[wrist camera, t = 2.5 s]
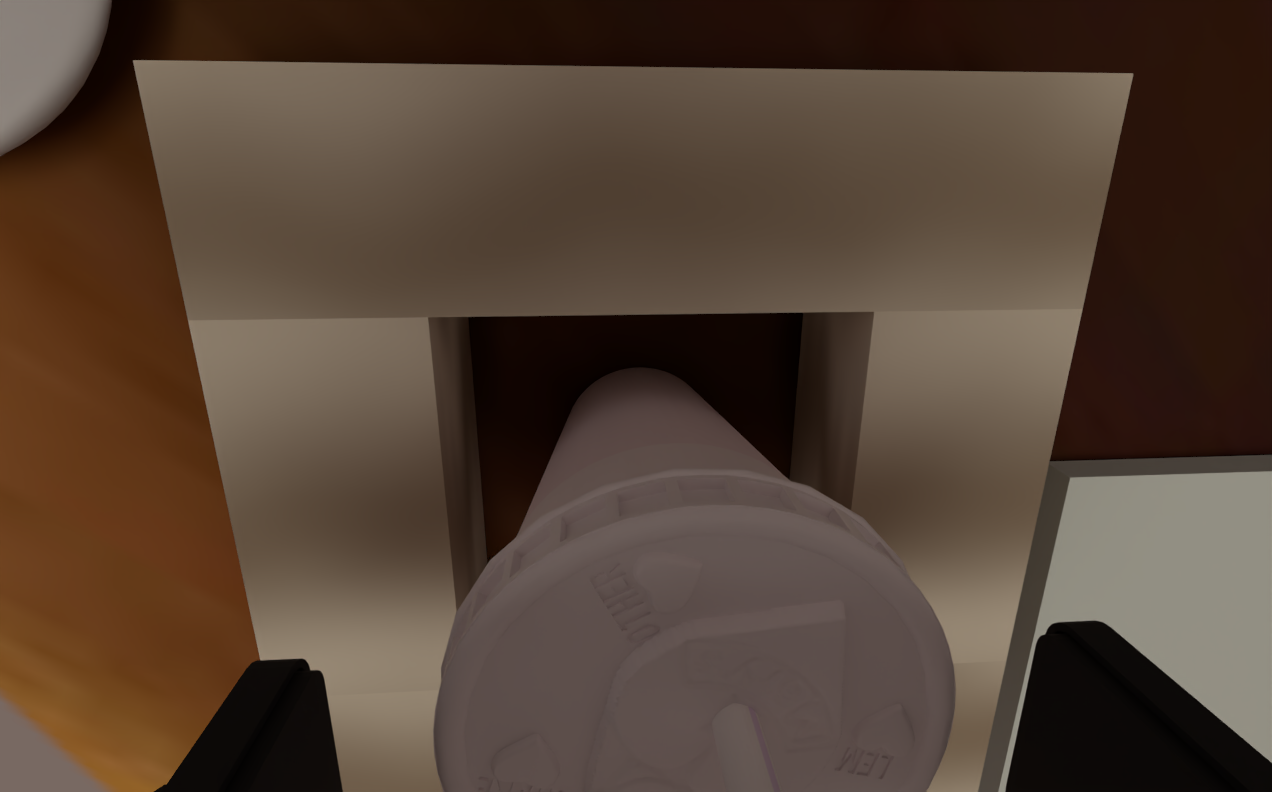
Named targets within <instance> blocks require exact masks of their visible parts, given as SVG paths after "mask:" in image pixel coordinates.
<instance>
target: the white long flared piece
mask: <svg viewBox="0 0 1272 792" xmlns="http://www.w3.org/2000/svg"><path fill="white" fill-rule="evenodd" d="M111 7H112V0H0V156H2V155H3V154H5V153H7V152H9V151H11V150H12V149H14V148H16V147H18V146H20V145H22V144H23V143H25V142H26V141H28V140H29V139H30V138H32V137H33V136H35V135H36V134H37V133H39V132H40V131H42V130H43V129H44V128H46V127H47V126H48V125H49V124H50V123H51V122H52V121H53V120H54V119H55V118H56V117H58V116H59V115H60V114H61V113H62V112H63V111H64V110H65V109H66V107H67V106H68V105H69V104H70V102H71V101H72V100H73V99H74V97H75V96H76V95H77V93H78V92H79V91H80V89H81V88H82V86H83V85H84V83H85V81H86V80H87V78H88V76H89V74H90V72H91V70H92V68H93V66H94V64H95V62H96V60H97V58H98V56H99V54H100V51H101V48H102V45H103V42H104V38H105V35H106V32H107V28H108V23H109V17H110V12H111Z"/></svg>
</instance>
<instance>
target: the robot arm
mask: <svg viewBox="0 0 1272 792" xmlns="http://www.w3.org/2000/svg"><path fill="white" fill-rule="evenodd" d="M154 792H343V789H342V783H341V777H340V771H339V765H338V759H337V753H336V747H335V741H334V735H333V729H332V723H331V716H330V710H329V704H328V698H327V692H326V686H325V680H324V676H323V674H322V672H321V671H319V670H310V667H309V664H308V663H307V661H306V660H305V659H302V658H301V659H280V660H259V661H255V662H253V663H251V664H250V666H249V667H248V668H247V669H246V670H245V672H244V673H243V675H242V676H241V678H240V679H239V680H238V682H237V683H236V685H235V686H234V688H233V689H232V691H231V692H230V694H229V695H228V696H227V698H226V699H225V701H224V702H223V704H222V705H221V707H220V708H219V709H218V711H217V712H216V714H215V715H214V717H213V718H212V720H211V721H210V723H209V724H208V725H207V727H206V728H205V730H204V731H203V733H202V734H201V736H200V737H199V738H198V740H197V741H196V743H195V744H194V746H193V747H192V749H191V750H190V751H189V753H188V754H187V756H186V757H185V759H184V760H183V762H182V763H181V765H180V766H179V767H178V769H177V770H176V772H175V773H174V775H173V776H172V778H171V779H170V780H169V782H168V783H167V785H163V786H162V787H160V788H159V789H157V790H156V791H154ZM1005 792H1272V763H1271V762H1270V761H1269V760H1268V759H1267V758H1265V757H1264V756H1263V755H1262V754H1261V753H1259V752H1258V751H1257V750H1256V749H1255V748H1254V747H1252V746H1251V745H1250V744H1249V743H1248V742H1246V741H1245V740H1244V739H1243V738H1242V737H1240V736H1239V735H1238V734H1237V733H1236V732H1235V731H1233V730H1232V729H1231V728H1230V727H1229V726H1227V725H1226V724H1225V723H1224V722H1223V721H1221V720H1220V719H1219V718H1218V717H1217V716H1216V715H1214V714H1213V713H1212V712H1211V711H1210V710H1208V709H1207V708H1206V707H1205V706H1204V705H1202V704H1201V703H1200V702H1199V701H1198V700H1197V699H1195V698H1194V697H1193V696H1192V695H1191V694H1189V693H1188V692H1187V691H1186V690H1185V689H1183V688H1182V687H1181V686H1180V685H1179V684H1178V683H1176V682H1175V681H1174V680H1173V679H1172V678H1170V677H1169V676H1168V675H1167V674H1166V673H1164V672H1163V671H1162V670H1161V669H1160V668H1159V667H1157V666H1156V665H1155V664H1154V663H1153V662H1151V661H1150V660H1149V659H1148V658H1147V657H1146V656H1144V655H1143V654H1142V653H1141V652H1140V651H1138V650H1137V649H1136V648H1135V647H1134V646H1132V645H1131V644H1130V643H1129V642H1128V641H1127V640H1125V639H1124V638H1123V637H1122V636H1121V635H1119V634H1118V633H1117V632H1116V631H1115V630H1113V629H1112V628H1111V627H1110V626H1108V625H1107V624H1105V623H1103V622H1100V621H1096V620H1094V621H1073V622H1057V623H1053V624H1051V625H1050V626H1049V628H1048V629H1047V631H1046V634H1045V635H1041V636H1040V637H1039V638H1038V640H1037V643H1036V646H1035V651H1034V656H1033V661H1032V665H1031V670H1030V675H1029V679H1028V684H1027V689H1026V694H1025V698H1024V703H1023V708H1022V713H1021V717H1020V722H1019V727H1018V731H1017V736H1016V741H1015V746H1014V750H1013V755H1012V760H1011V764H1010V769H1009V774H1008V779H1007V783H1006V791H1005Z"/></svg>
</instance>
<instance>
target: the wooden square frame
mask: <svg viewBox="0 0 1272 792" xmlns="http://www.w3.org/2000/svg"><path fill="white" fill-rule="evenodd" d="M133 64H134V68H135V73H136V78H137V83H138V87H139V92H140V97H141V101H142V106H143V111H144V115H145V120H146V125H147V130H148V134H149V139H150V144H151V148H152V153H153V158H154V162H155V167H156V172H157V177H158V181H159V186H160V191H161V195H162V200H163V205H164V209H165V214H166V219H167V224H168V228H169V233H170V238H171V242H172V247H173V252H174V256H175V261H176V266H177V270H178V275H179V280H180V285H181V289H182V294H183V299H184V303H185V308H186V313H187V317H188V322H189V327H190V332H191V336H192V341H193V346H194V350H195V355H196V360H197V364H198V369H199V374H200V379H201V383H202V388H203V393H204V397H205V402H206V407H207V411H208V416H209V421H210V426H211V430H212V435H213V440H214V444H215V449H216V454H217V458H218V463H219V468H220V473H221V477H222V482H223V487H224V491H225V496H226V501H227V505H228V510H229V515H230V520H231V524H232V529H233V534H234V538H235V543H236V548H237V552H238V557H239V562H240V567H241V571H242V576H243V581H244V585H245V590H246V595H247V599H248V604H249V609H250V614H251V618H252V623H253V628H254V632H255V637H256V642H257V646H258V651H259V656H260V660H280V659H301V658H302V659H305V660H306V661H307V663H308V664H309V667H310V670H319V671H321V672H322V674H323V676H324V680H325V686H326V692H327V698H328V704H329V710H330V716H331V723H332V729H333V735H334V741H335V747H336V753H337V759H338V765H339V771H340V777H341V783H342V789H343V792H443V789H442V786H441V783H440V780H439V776H438V773H437V767H436V761H435V756H434V741H433V727H434V715H435V708H436V703H437V698H438V693H439V689H440V685H441V682H442V680H441V666H442V662H443V659H444V655H445V651H446V648H447V644H448V640H449V637H450V633H451V629H452V626H453V622H454V619H455V615H456V612H457V611H458V609H459V607H460V606H461V604H462V603H463V601H464V600H465V598H466V597H467V595H468V594H469V592H470V590H471V589H472V587H473V586H474V584H475V583H476V581H477V580H478V578H479V576H480V575H481V573H482V572H483V570H484V569H485V567H486V566H487V551H486V538H485V526H484V513H483V500H482V487H481V474H480V461H479V448H478V436H477V423H476V410H475V397H474V384H473V371H472V359H471V346H470V333H469V320H468V317H493V316H571V315H649V314H727V313H803V321H802V333H801V345H800V358H799V370H798V382H797V394H796V406H795V418H794V430H793V442H792V454H791V466H790V478H789V480H790V481H792V482H796V483H800V484H804V485H807V486H810V487H812V488H813V489H815V490H817V491H819V492H820V493H822V494H824V495H825V496H827V497H829V498H830V499H832V500H834V501H836V502H837V503H839V504H841V505H842V506H844V507H846V508H847V509H849V510H851V511H853V512H854V513H856V514H858V515H859V516H861V517H863V518H864V519H865V520H866V521H867V523H868V524H869V525H870V526H871V527H872V528H873V529H874V530H875V531H876V532H877V533H878V535H879V536H880V537H881V538H882V539H883V540H884V541H885V542H886V543H887V544H888V546H889V547H890V548H891V549H892V550H893V551H894V552H895V553H896V554H897V555H898V556H899V558H900V559H901V560H902V561H903V563H904V566H905V568H906V570H907V572H908V575H909V577H910V579H911V580H912V581H913V582H914V583H915V585H916V586H917V587H918V588H919V589H920V591H921V592H922V594H923V595H924V597H925V598H926V600H927V601H928V602H929V604H930V605H931V607H932V608H933V610H934V612H935V614H936V616H937V618H938V620H939V622H940V624H941V626H942V628H943V631H944V633H945V636H946V639H947V642H948V644H949V647H950V652H951V656H952V661H953V665H954V674H955V684H956V696H955V712H954V718H953V725H952V730H951V733H950V737H949V741H948V745H947V748H946V750H945V753H944V756H943V758H942V761H941V763H940V766H939V768H938V770H937V772H936V774H935V776H934V778H933V780H932V782H931V784H930V786H929V788H928V789H927V791H926V792H978V789H979V785H980V780H981V775H982V771H983V766H984V762H985V757H986V752H987V748H988V743H989V738H990V734H991V729H992V725H993V720H994V715H995V711H996V706H997V702H998V697H999V692H1000V688H1001V683H1002V678H1003V674H1004V669H1005V665H1006V660H1007V655H1008V651H1009V646H1010V641H1011V637H1012V632H1013V628H1014V623H1015V618H1016V614H1017V609H1018V605H1019V600H1020V595H1021V591H1022V586H1023V581H1024V577H1025V572H1026V568H1027V563H1028V558H1029V554H1030V549H1031V544H1032V540H1033V535H1034V531H1035V526H1036V521H1037V517H1038V512H1039V508H1040V503H1041V498H1042V494H1043V489H1044V484H1045V480H1046V475H1047V471H1048V466H1049V461H1050V457H1051V452H1052V447H1053V443H1054V438H1055V434H1056V429H1057V424H1058V420H1059V415H1060V411H1061V406H1062V401H1063V397H1064V392H1065V387H1066V383H1067V378H1068V374H1069V369H1070V364H1071V360H1072V355H1073V350H1074V346H1075V341H1076V337H1077V332H1078V327H1079V323H1080V318H1081V314H1082V309H1083V304H1084V300H1085V295H1086V290H1087V286H1088V281H1089V277H1090V272H1091V267H1092V263H1093V258H1094V253H1095V249H1096V244H1097V240H1098V235H1099V230H1100V226H1101V221H1102V217H1103V212H1104V207H1105V203H1106V198H1107V193H1108V189H1109V184H1110V180H1111V175H1112V170H1113V166H1114V161H1115V156H1116V152H1117V147H1118V143H1119V138H1120V133H1121V129H1122V124H1123V120H1124V115H1125V110H1126V106H1127V101H1128V96H1129V92H1130V87H1131V83H1132V78H1133V74H1132V73H1057V72H983V71H908V70H834V69H760V68H685V67H611V66H537V65H462V64H388V63H314V62H239V61H165V60H133Z"/></svg>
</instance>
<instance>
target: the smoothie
mask: <svg viewBox="0 0 1272 792" xmlns="http://www.w3.org/2000/svg"><path fill="white" fill-rule="evenodd" d="M441 680H442V682H441V685H440V689H439V693H438V698H437V703H436V708H435V715H434V727H433V741H434V756H435V761H436V767H437V773H438V776H439V780H440V783H441V786H442V789H443V792H926V791H927V789H928V788H929V786H930V784H931V782H932V780H933V778H934V776H935V774H936V772H937V770H938V768H939V766H940V763H941V761H942V758H943V756H944V753H945V750H946V748H947V745H948V741H949V737H950V733H951V730H952V725H953V718H954V712H955V696H956V684H955V674H954V665H953V661H952V656H951V652H950V647H949V644H948V642H947V639H946V636H945V633H944V631H943V628H942V626H941V624H940V622H939V620H938V618H937V616H936V614H935V612H934V610H933V608H932V607H931V605H930V604H929V602H928V601H927V600H926V598H925V597H924V595H923V594H922V592H921V591H920V589H919V588H918V587H917V586H916V585H915V583H914V582H913V581H912V580H911V579H910V577H909V575H908V572H907V570H906V568H905V566H904V563H903V561H902V560H901V559H900V558H899V556H898V555H897V554H896V553H895V552H894V551H893V550H892V549H891V548H890V547H889V546H888V544H887V543H886V542H885V541H884V540H883V539H882V538H881V537H880V536H879V535H878V533H877V532H876V531H875V530H874V529H873V528H872V527H871V526H870V525H869V524H868V523H867V521H866V520H865V519H864V518H863V517H861V516H859V515H858V514H856V513H854V512H853V511H851V510H849V509H847V508H846V507H844V506H842V505H841V504H839V503H837V502H836V501H834V500H832V499H830V498H829V497H827V496H825V495H824V494H822V493H820V492H819V491H817V490H815V489H813V488H812V487H810V486H807V485H804V484H800V483H796V482H792V481H790V480H789V479H788V478H786V477H785V476H784V475H783V474H782V473H781V472H780V471H779V470H778V469H777V468H775V467H774V466H773V465H772V464H771V463H770V462H769V461H768V460H767V459H766V458H765V457H764V456H763V455H762V454H761V453H760V452H759V451H758V450H757V449H755V448H754V447H753V446H752V445H751V444H750V443H749V442H748V441H747V440H746V439H745V438H744V437H743V436H742V435H741V434H740V433H739V432H738V431H737V430H735V429H734V428H733V427H732V426H731V425H730V424H729V423H728V422H727V421H726V420H725V419H724V418H723V417H722V416H721V415H720V414H719V413H718V412H716V411H715V410H714V409H713V408H712V407H711V406H710V405H709V404H708V403H707V402H706V401H705V400H704V399H703V398H702V397H701V396H700V395H699V394H698V393H696V392H695V391H694V390H693V389H692V388H691V387H690V386H689V385H688V384H687V383H685V382H684V381H683V380H681V379H680V378H678V377H676V376H675V375H672V374H670V373H668V372H665V371H662V370H658V369H654V368H645V367H635V368H627V369H622V370H618V371H615V372H612V373H610V374H607V375H605V376H603V377H602V378H600V379H598V380H597V381H595V382H594V383H593V384H591V385H590V386H589V387H588V388H587V389H586V390H585V391H584V392H583V393H582V394H581V395H580V397H579V398H578V399H577V401H576V402H575V404H574V406H573V408H572V410H571V412H570V414H569V416H568V419H567V421H566V423H565V426H564V428H563V430H562V433H561V435H560V437H559V440H558V442H557V444H556V447H555V449H554V451H553V454H552V456H551V458H550V461H549V463H548V465H547V468H546V470H545V472H544V474H543V477H542V479H541V481H540V484H539V486H538V488H537V491H536V493H535V495H534V498H533V500H532V502H531V505H530V507H529V509H528V512H527V514H526V516H525V519H524V521H523V523H522V526H521V528H520V530H519V532H518V534H517V536H516V538H515V539H514V540H512V541H511V542H510V543H509V544H508V545H507V546H506V547H504V548H503V549H502V550H501V551H500V552H499V553H498V554H497V555H495V556H494V557H493V558H492V559H491V560H490V561H489V563H488V564H487V566H486V567H485V569H484V570H483V572H482V573H481V575H480V576H479V578H478V580H477V581H476V583H475V584H474V586H473V587H472V589H471V590H470V592H469V594H468V595H467V597H466V598H465V600H464V601H463V603H462V604H461V606H460V607H459V609H458V611H457V612H456V615H455V619H454V622H453V626H452V629H451V633H450V637H449V640H448V644H447V648H446V651H445V655H444V659H443V662H442V666H441Z"/></svg>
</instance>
